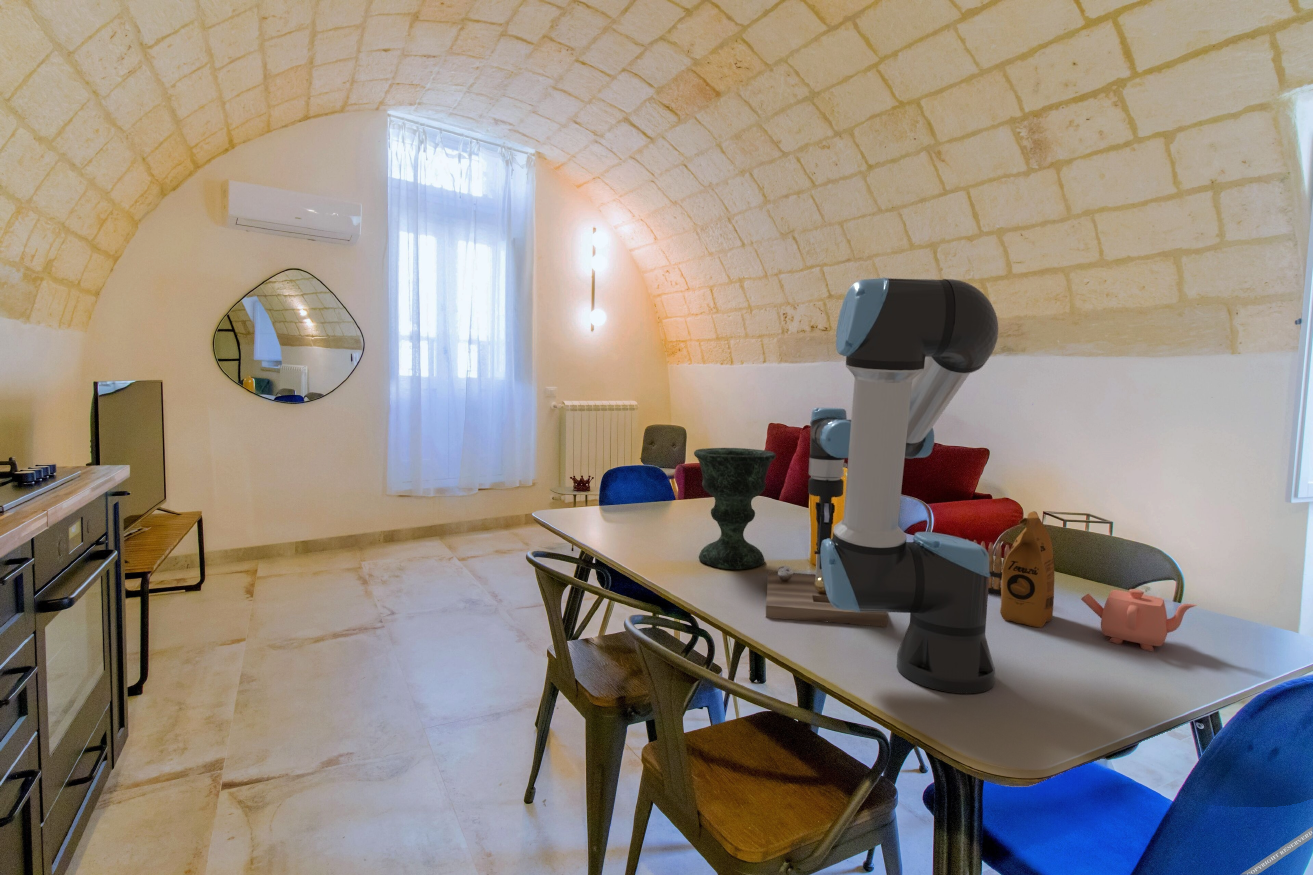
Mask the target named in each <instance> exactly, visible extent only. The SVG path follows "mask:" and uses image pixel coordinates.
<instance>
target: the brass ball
mask: <svg viewBox="0 0 1313 875" xmlns="http://www.w3.org/2000/svg"><path fill="white" fill-rule="evenodd" d="M814 586H815V589H816V590H817V591H818V592H820V593H826V590H825V586H824V581H823V577H819V578H817V579H816V580H815V583H814Z"/></svg>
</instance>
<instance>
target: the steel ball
mask: <svg viewBox="0 0 1313 875" xmlns="http://www.w3.org/2000/svg"><path fill="white" fill-rule="evenodd" d="M777 572H778V577H779V578H780V579H781V580H783V581H788V580H790V579H791V578H792V576H793V573H794V572H793V569H792V568H791V567H790V566H788V565H781V566H780V567H779V568H778V569H777Z"/></svg>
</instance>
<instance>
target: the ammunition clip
mask: <svg viewBox="0 0 1313 875" xmlns="http://www.w3.org/2000/svg"><path fill="white" fill-rule="evenodd" d="M965 540H969V539H968V538H966V539H965ZM973 542H974V543H977V544H978V542H977V540H976V539H974V540H973ZM980 546H982V547H983V548H985V549H986V543H985V541H984V540H983V541H981V543H980ZM1003 551H1004V552H1003ZM1003 551H1002V546H1001V543H1000V542H999V543H998V544H997V546H996V550H995V558H994V545H993V542H989V545H988V549H987V552H988V554H989V573H990V577H989V587H988V594H993V595H997V594H998V595H997V596H1001V580H1002V572H1003V566H1004V562H1005V559H1006V557H1007V554H1008V553H1009V551H1010V545H1009V544H1006V545H1005V548H1004V550H1003ZM1002 552H1003V557H1002ZM1002 558H1003V560H1002Z"/></svg>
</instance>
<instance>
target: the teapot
mask: <svg viewBox="0 0 1313 875" xmlns="http://www.w3.org/2000/svg"><path fill="white" fill-rule="evenodd" d="M1107 596H1108V597H1107V599H1106V601H1105V604H1104V606H1102V605H1101V604H1100V603H1099V602H1098V601H1097V600H1096V599H1095V598H1094V597H1093V596H1092V595H1091V594H1090V593H1087V594H1085V595H1084V596H1083V597H1081V599H1080V600H1082V602H1083V603H1084V604H1086V606H1087V607H1088V608H1089V609H1090V610H1091V611H1093V612H1094V614H1096V615H1097V617H1098V618H1100V621H1101V622H1100V629H1101V632H1102V635H1104V636H1106V637H1107V636H1108V637H1110V639H1109V642H1111V643H1113V644H1116V645H1122V644H1123V642H1124V641H1127V642H1131V643H1137V644H1139V646H1140V649H1142V650H1145V651H1150V652H1153V651H1155V650H1154V647H1162V646H1163V645H1164V643H1165V641H1166V640H1167V636H1168V633H1172V632H1174V631H1176V630H1177V629H1178V628H1180V626H1181V624H1182V622H1183V618H1184V616H1185V614H1186V612H1187V611H1188V610H1189V609H1190V608H1191V609H1192V608H1194V607H1197V606H1198V604H1194V603H1193V604H1192V603H1183V604H1181V605H1179V606H1178V607H1177V609H1176V612H1175V614H1174V615H1173V616H1172V617H1170V618H1168V615H1167V614H1168V613H1167V609H1166V604H1165V599H1164V598H1162V597H1157V596H1153V595H1148V594H1145V592H1144V591H1143V590H1140V589H1134V588H1130V589H1129V591H1125V590H1119V589H1118V590H1117V589H1112V590H1111V591H1110V592H1109V594H1108V595H1107Z"/></svg>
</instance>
